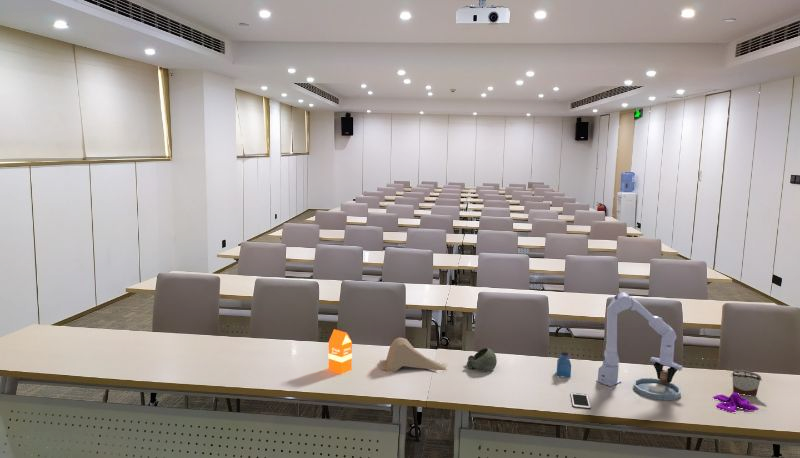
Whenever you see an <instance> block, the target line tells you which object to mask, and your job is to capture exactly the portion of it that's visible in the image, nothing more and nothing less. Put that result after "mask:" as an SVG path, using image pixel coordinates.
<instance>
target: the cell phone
mask: <svg viewBox="0 0 800 458" xmlns="http://www.w3.org/2000/svg"><path fill="white" fill-rule="evenodd" d="M570 399H571V400H572V401H571V406H572V405H573V406H572V408H574V407H578V409H583V408H586V410H591V409H592V406H591V400H590V397H589V395H588V394H587V393H580V392H579V393H578V392H570Z"/></svg>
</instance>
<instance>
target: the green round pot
mask: <svg viewBox="0 0 800 458" xmlns="http://www.w3.org/2000/svg"><path fill="white" fill-rule="evenodd" d="M497 359H498V358H497V355H496V353H495V352H494V351H493V349H490V348H487V347H485V348H482V349H479V351H477V352H476V353H475V354H474V355H469V356H468V358H467V362H466V366H467V368H468V369H469V370H474V369H476V370H478V371H481V372H492V371H493V370H494V369H495V367H496V366H497V361H498V360H497Z"/></svg>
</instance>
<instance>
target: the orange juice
mask: <svg viewBox="0 0 800 458" xmlns="http://www.w3.org/2000/svg"><path fill="white" fill-rule="evenodd" d="M352 360H353V341H352V340H351V338H350V336H349V334H348V333H347V332H345V331H342V330H338V329H335V328H334V329H333V331H332V333H331V335H330V337H329V340H328V371H331V372H334V373H336V374H340V375H343V374H345V373H347V372H349V371H352V369H353V368H352V367H353V366H352V365H353V364H352V363H353V361H352Z"/></svg>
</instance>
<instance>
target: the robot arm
mask: <svg viewBox="0 0 800 458" xmlns="http://www.w3.org/2000/svg"><path fill="white" fill-rule="evenodd" d="M629 309H630V311H636V312H637V313H639V315H641V316H642V317H644V318H645V319H646V320H647V321H648V325H649V326H650V327H651V328H652V329H653V330H654V331H655V332H656V333H657V334H658V335H661V342H660V350H659V352H660V353H659V357H654V356H652V357H650V362H652V363H654V364H653V367H654V369H655V372H656V376H657V379H660V370H664V369H663V368H664V366H665V367H668V368H667V369H666V370H668V383H670V382H671V383H672V380H673V378H674V376H675V375H676V373H677V371H679V372H680V371H682V370H683V365H680V364H678V363H676V362H674V355H675V354H674V353H675V341H676V340H677V339H678V337H677V333H676V331H675V330H674V329H673V327H671V326H670V324H667V323H666V322H665V321H664V320H663V318H662V317H661V316H660V317H659V316H657V315H653V314H652V313H651V312H650V311H648V310H647V309H646V307H645V306H643V304H641V303H640V302H639V301H638V300H637V299H635V298H634V297H632V296H630V295H629V294H628V293H627V292H624V291H620V292H619V293H617V294H615V295H614V297H613V299H612V300H611V301H610V303H609V305H608V306H607V307H606V344H605V349H604V351H603V356H604V360H603V361H602V365H601V366H600V367H598V371H597V374H598V375H597V379H595V381H596V382H598V383H601V384H603V385H606V386H609V387H612V386H614V385H617V384H620V383H622V380H620V379H619V378H618V377H619V367H620V364H619V363H620V357H619V355H618V315H619V314H620V313H621V312H623V311H627V310H629Z"/></svg>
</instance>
